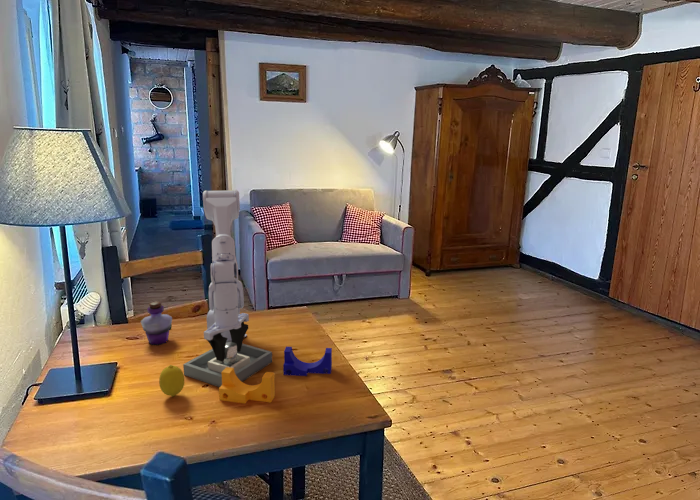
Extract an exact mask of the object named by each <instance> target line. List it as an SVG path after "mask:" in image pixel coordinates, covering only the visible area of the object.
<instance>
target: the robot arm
mask: <svg viewBox="0 0 700 500" xmlns="http://www.w3.org/2000/svg"><path fill="white" fill-rule="evenodd" d="M202 201H203V202H202V203H203V211H204V217H206V220H209V221H212V223H213V225H214V229H215V237H214V238H213V239H212V240H211V257H212V259H211V260H212V263H210V281H211V282H210V284H209V286H208V308H209V311H208V312H207V314H206V330H204V331H203V339H204V340H207V342H208V344H209V345H210V346H211V349H213V351H214V353H215V356H216V359H217V360H218V361H222V362H223V361H224V359H225V345H226V341H228V340H232V342H234V343H236V344H237V352H240V351H241V347H242V343H243V342H244V338H245V337H247V336H248V334H247V332H248V330H249V325H248V323H247V322H249V321H250V320H249V319H250V318H249V316H250V315H249V314H248V313H245V312H241V309H243V308H244V305H245V299H244V298H245V297H244V287H243V285H244V284H243V283H242V281H240V280H239V265H238V262H237V256H236V247H235V244H236V243H235V239H234V238H233V237H232V234H231V227H232V224H233V221H235V220H237V219H239V216H240V210H241V209H240V208H241V207H240V206H241V204H240V203H241V202H240V192H239V190H238V189H233V190H230V189H229V190H204V191H203V192H202Z"/></svg>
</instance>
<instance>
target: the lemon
mask: <svg viewBox="0 0 700 500" xmlns="http://www.w3.org/2000/svg"><path fill="white" fill-rule="evenodd" d="M184 386H185V375H184V371H183V370H182V369H181V368H180V367H179V366H176V365H173V364H169V365H168V366H166V367H164V369H162V371H160V374H159V388H160V390H161V392H162V393H163V394H164V395H165V396H168V397H169V396H171V397H172V398H173V397H175V396H176V395H178V394H180V392H182V390H183V389H184Z"/></svg>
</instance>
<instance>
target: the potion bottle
mask: <svg viewBox="0 0 700 500" xmlns="http://www.w3.org/2000/svg"><path fill="white" fill-rule="evenodd" d="M148 305H149V306H148V307H147V309H146V310H147V313H148V314H150V315H148V316H145V317H144V318H142V319H141V320H140V323H141V326H142V330H143V332H145V335H146V338H147V341H148V344H149V345H151V346H162V345H164V344H167V343H168V342H169V334H170V331H171V330H172V323H173V317H172V316H171V315H169V314H168V313H167V314H166V313H165V314H164V313H163V312H164V311H165V307H164V305H162V302H160V301H157V300H156V301H152V302H150V303H149V304H148ZM162 313H163V314H162ZM166 341H167V342H166Z"/></svg>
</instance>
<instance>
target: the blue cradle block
mask: <svg viewBox="0 0 700 500" xmlns="http://www.w3.org/2000/svg"><path fill="white" fill-rule="evenodd" d="M332 348H333V347H325V350H324V351H325V352H324V355H323V356H322V357H321V358H320V359H319V360H317V361H314V362H305V361H302V360H300V359H299V358H298V357H297V356H296V355H295V353H294V351H293V346H286V347H285V348H284V350H283V352H284V353H283V354H284V355H283V357H284V358H283V359H284V362H283V365H282V366H283V367H282V368H283V372H282V373H283V376H300V377H307V376H308V374H319V375H321V374H324V375H330V374H332V368H333V367H332V365H333V363H332V361H333V358H332V355H333V354H332V353H333V351H332V350H333V349H332Z"/></svg>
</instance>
